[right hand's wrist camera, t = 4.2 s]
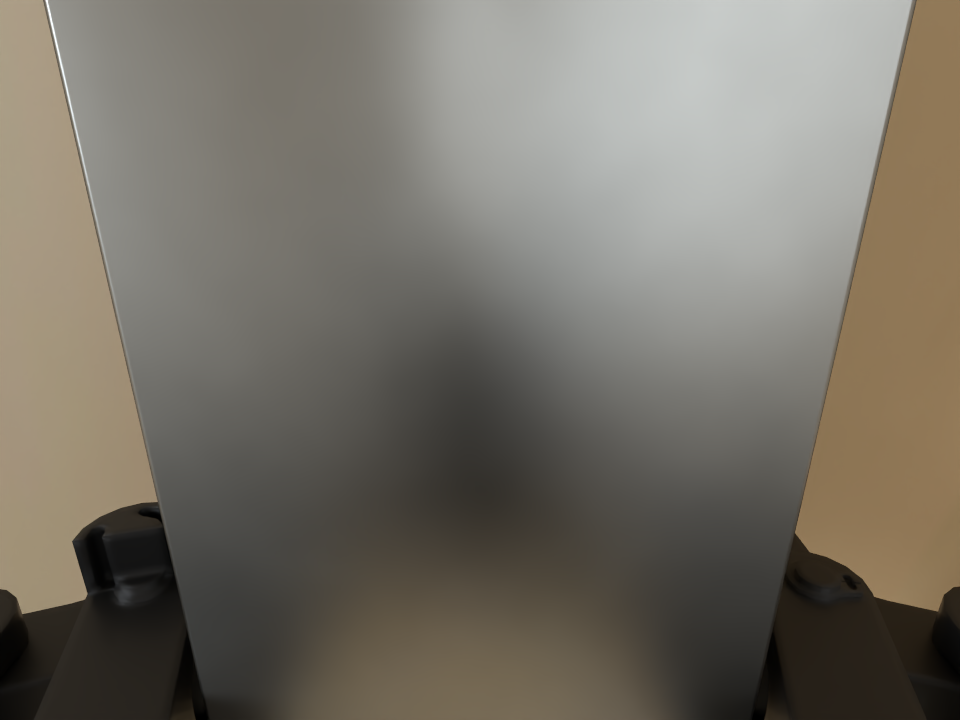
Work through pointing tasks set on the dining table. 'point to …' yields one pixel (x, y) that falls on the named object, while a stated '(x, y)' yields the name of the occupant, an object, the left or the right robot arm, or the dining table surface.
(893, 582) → the dining table surface
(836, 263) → the bar
